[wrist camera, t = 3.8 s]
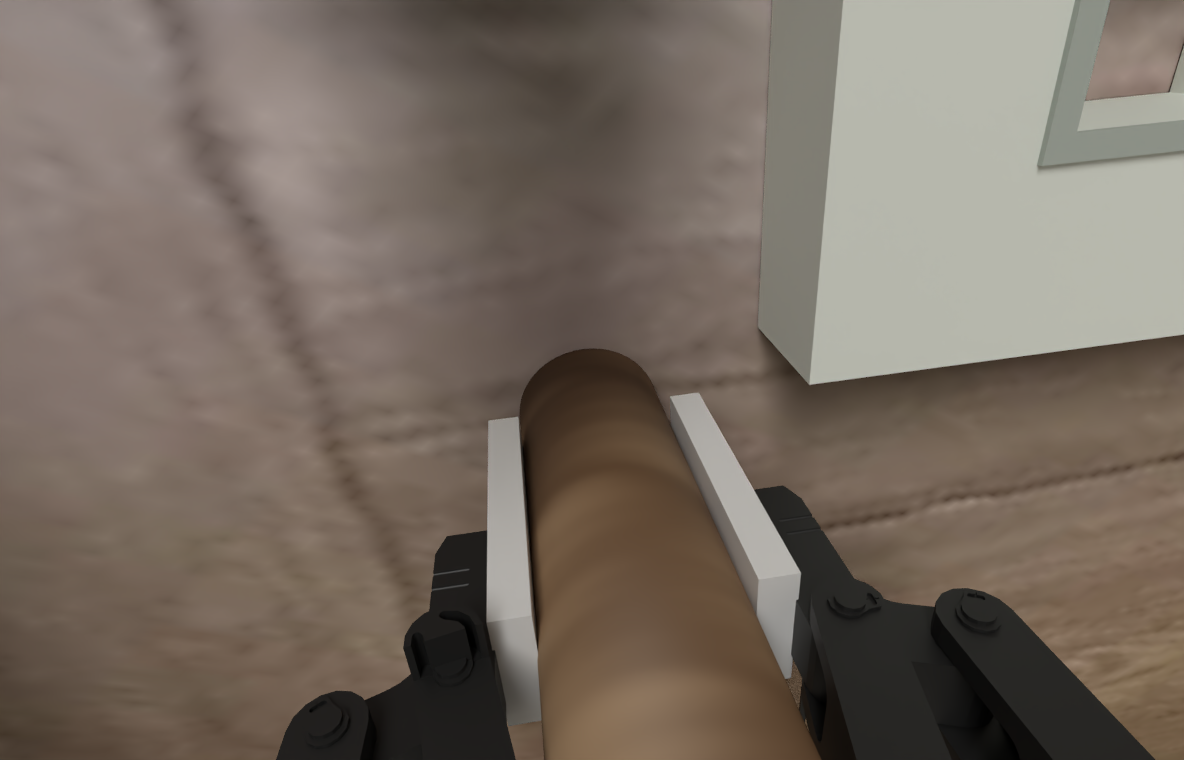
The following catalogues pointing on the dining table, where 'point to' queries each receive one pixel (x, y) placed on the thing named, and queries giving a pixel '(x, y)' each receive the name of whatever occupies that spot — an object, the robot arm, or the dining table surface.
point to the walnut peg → (638, 585)
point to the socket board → (961, 188)
